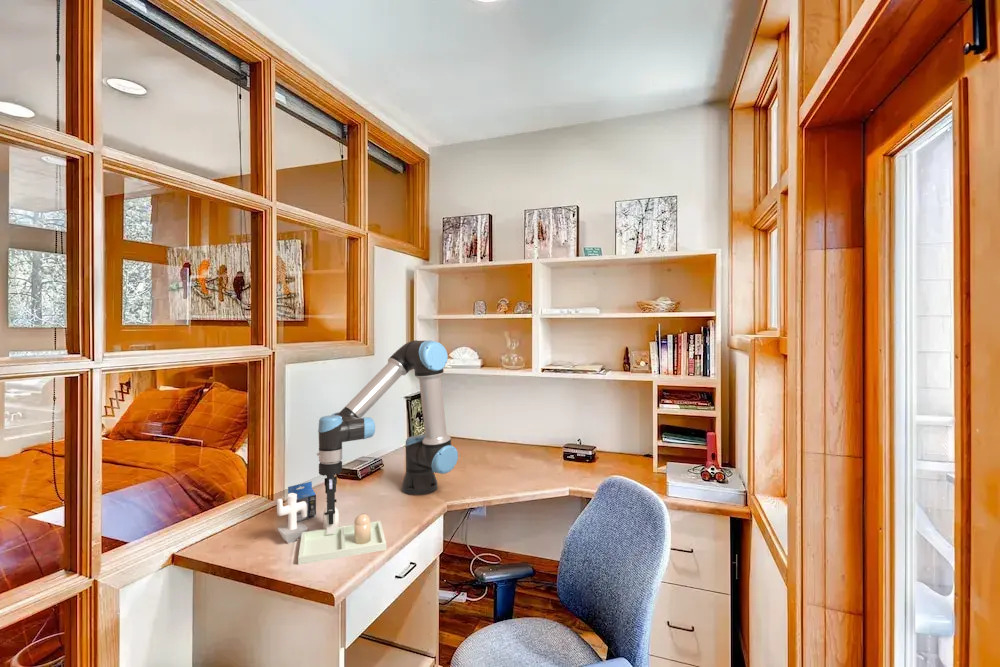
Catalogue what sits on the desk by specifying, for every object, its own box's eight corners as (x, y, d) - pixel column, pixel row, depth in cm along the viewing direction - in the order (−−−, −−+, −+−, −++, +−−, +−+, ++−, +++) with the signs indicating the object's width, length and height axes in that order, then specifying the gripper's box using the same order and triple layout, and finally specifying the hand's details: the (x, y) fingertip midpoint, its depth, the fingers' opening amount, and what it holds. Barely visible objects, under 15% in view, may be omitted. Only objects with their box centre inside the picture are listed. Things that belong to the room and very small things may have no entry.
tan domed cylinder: (370, 536, 151) (369, 510, 151) (371, 542, 147) (370, 516, 147) (354, 538, 150) (353, 512, 150) (354, 545, 145) (354, 518, 145)
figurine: (311, 538, 153) (310, 493, 153) (281, 547, 146) (281, 500, 146) (302, 531, 158) (302, 487, 158) (273, 540, 151) (273, 495, 151)
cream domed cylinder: (338, 526, 161) (338, 502, 161) (339, 532, 157) (338, 507, 157) (323, 529, 160) (323, 504, 159) (323, 535, 155) (323, 510, 155)
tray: (380, 529, 159) (380, 520, 159) (386, 552, 142) (386, 543, 142) (302, 541, 150) (301, 532, 150) (298, 568, 133) (298, 557, 133)
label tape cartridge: (291, 523, 164) (291, 489, 164) (287, 520, 167) (287, 487, 167) (316, 516, 170) (316, 483, 170) (312, 513, 173) (311, 481, 173)
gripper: (319, 455, 166) (319, 518, 166) (318, 470, 146) (318, 542, 145) (341, 453, 169) (341, 515, 168) (343, 468, 148) (343, 538, 148)
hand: (330, 527), depth 157 cm, fingers open, 9 cm apart
